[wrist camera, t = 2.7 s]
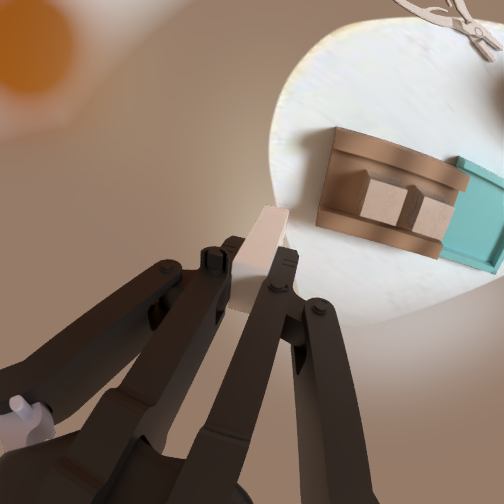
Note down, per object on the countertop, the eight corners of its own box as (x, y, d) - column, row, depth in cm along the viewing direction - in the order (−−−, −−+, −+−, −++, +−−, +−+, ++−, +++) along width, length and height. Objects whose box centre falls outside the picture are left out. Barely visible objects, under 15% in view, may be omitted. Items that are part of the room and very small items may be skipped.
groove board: (455, 166, 26) (470, 176, 23) (427, 242, 32) (437, 259, 29) (336, 126, 29) (337, 130, 25) (317, 210, 35) (315, 225, 31)
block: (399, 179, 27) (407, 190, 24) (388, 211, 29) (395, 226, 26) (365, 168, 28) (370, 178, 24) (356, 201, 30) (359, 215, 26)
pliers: (419, -47, 11) (511, 35, 13) (416, -42, 13) (505, 36, 14) (386, -9, 17) (485, 77, 18) (384, -5, 18) (479, 77, 20)
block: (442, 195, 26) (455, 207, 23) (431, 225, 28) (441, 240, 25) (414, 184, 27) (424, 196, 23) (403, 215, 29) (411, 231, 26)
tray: (522, 190, 24) (530, 196, 22) (489, 266, 31) (495, 274, 29) (458, 155, 26) (465, 159, 24) (426, 245, 33) (430, 253, 31)
